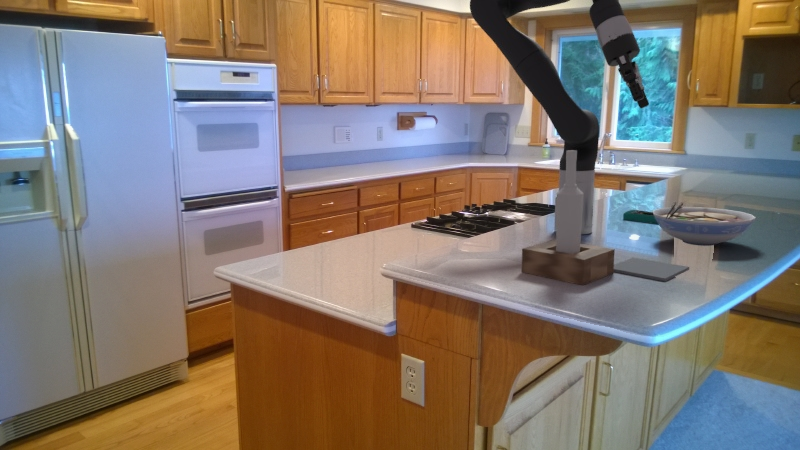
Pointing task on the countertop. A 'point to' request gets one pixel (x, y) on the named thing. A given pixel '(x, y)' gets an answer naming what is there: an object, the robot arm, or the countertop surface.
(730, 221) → the ramen bowl
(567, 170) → the bottle
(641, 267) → the slate mat
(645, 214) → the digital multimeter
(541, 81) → the robot arm
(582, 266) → the walnut holder
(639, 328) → the countertop surface
